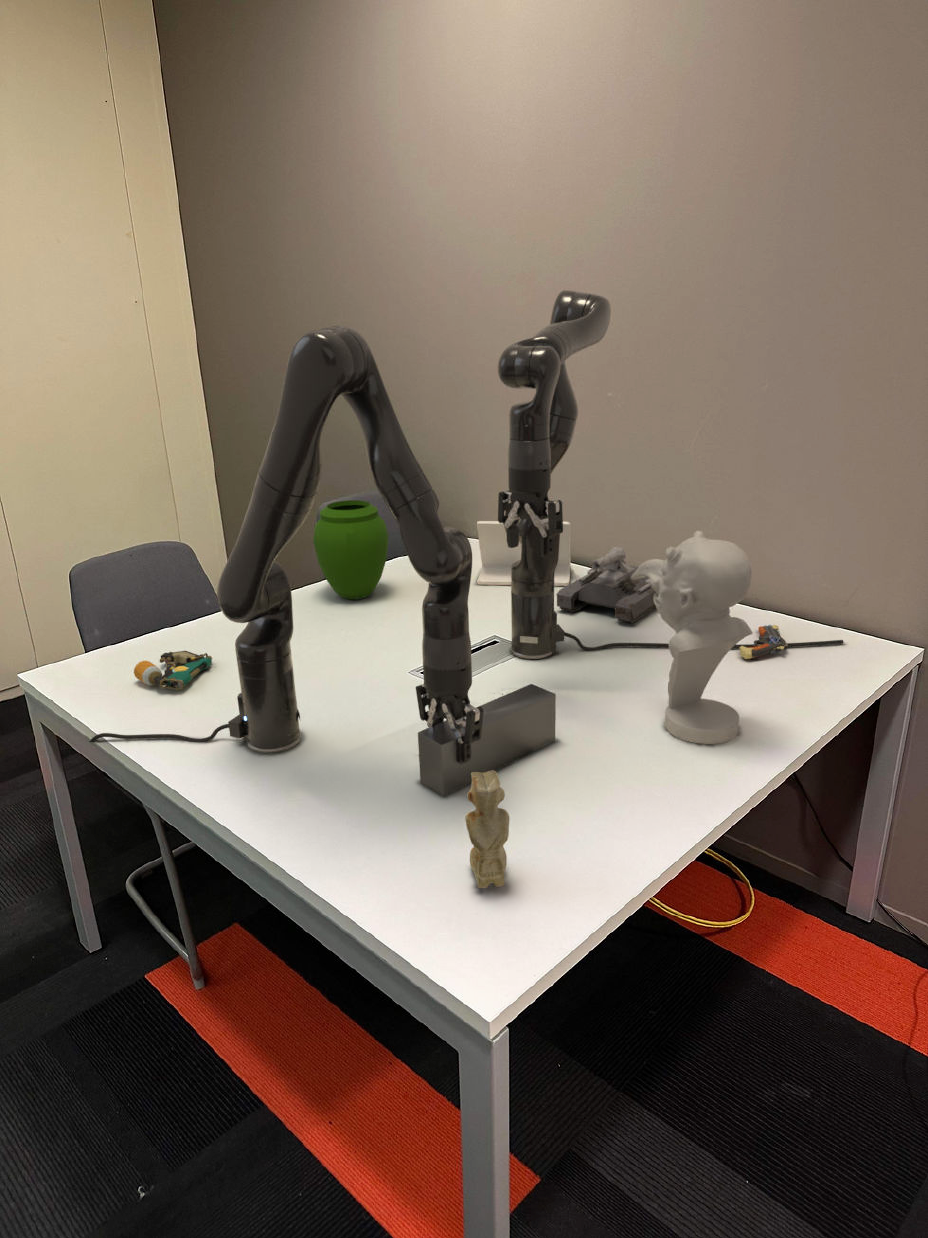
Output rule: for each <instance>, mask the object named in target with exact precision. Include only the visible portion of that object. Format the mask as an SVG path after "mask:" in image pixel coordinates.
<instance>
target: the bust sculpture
mask: <svg viewBox="0 0 928 1238" xmlns="http://www.w3.org/2000/svg"><path fill="white" fill-rule="evenodd" d="M664 554H665V559H660V558H653V559H648V560H645V561H644V562H642V563H641V564H640V565H639V566H638V567H639V568H638V569H637V570H636V571H635V573H634V574H633V575H632V576H631V578H632V579H634V580H635V579H640V578H644V577H647V578H649V579H650V583H651V587H652V589H653V590H654V591H655V592H656V593H655V594H654V597H653V600H654V604H655V605H656V607H655V608H656V611H657V612H658V614H659V615H660V618H661V619H662V620H663V622H665V623H666V624H667V625H668V626H669V627H670V628H671V629H672V630H673V631H675V634H673V635H672V636H671V638H669V641H668V644H669V647H668V649H669V653H670V654H671V657H672V658H673V660H672V663H671V666H670V669H669V673H668V682H667V694H668V696H667V697H668V700H667V705H668V706H666V708H665V718H664V726H665V728H666V730H667V731H668V732H669V733H670V734H671V735H673V736H675V737H676V738H679V739H680V740H683V741H687V742H691V743H696V744H703V745H713V744H721V743H726V742H729V741H731V740H733V739H734V738H736V736H738V733H739V729H740V728H739V727H740V715H739V714H740V713H738V711H737V710H736V709H735V708H734V707H732V706H730V705H728V704H727V703H724V702H721V701H719V700H714V699H709V698H702V696H703V695H704V694H703V693H704V692H705V690H706V687H707V685H708V684H709V681H710V680H711V678H712V676H713V674H714V673H715V671H716V670H717V668H718V667H719V665H720V664H721V662H722V661H723V660H724V658H725V656H726V655H727V654H728V653H729V652H730V651H731V650H732V649H733V648H732V647H733V646H735V645H738V643H739V642H741V641H742V640H743V639H745V638H747V637H749V636H751V635H753V634H754V632H753V630H752V629H751V628H750V626H749V624H748V623H747V622H746V621H745V620H744V619H743V618H740V617H737V616H731V614H730V613H731V610H730V608H732V607H734V606H736V605H737V604H739V603H740V602H741V601H742V600H744V599H745V597H746V595H747V594H748V592H749V590H750V586H751V583H752V574H753V573H752V572H753V571H752V565H751V561H750V559H749V557H748V555H747V554H746V552H745V551H744V550H743V549H742V548H741V547H740V546H739V545H737V544H736V543H734V542H731V541H728V540H723V539H711V538H707V536H706V534H705V532H703V530H696V531H694V533H693V536H691V537H689V538H687V539H684V541H682V542H681V543H679V544H678V545H677V546H675V547H674V546H669V547H667V548H666V551H665V553H664Z"/></svg>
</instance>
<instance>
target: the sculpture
mask: <svg viewBox="0 0 928 1238" xmlns="http://www.w3.org/2000/svg"><path fill="white" fill-rule="evenodd" d="M471 777H472V783H470V784H471V786H470V790H469V791H468V792H467V794H466V799H467V801H469V802H470V803H471V804H472V805H473V806H474V807H475V809H474V810H472V811H470V812H467V813H466V814H465V815H464V816H465V817H464V820H465V821H464V822H465V825H466V830H467V833H468V837H469V840H470V843H471V844H472V845H473V847H472V848H471V849H470V852H469V864H470V865H469V866H470V868H471V871H472V872H473V875H474V878H475V880H476V881H475V882H476V884H477V887H478V888H479V889H487V888H489V886H490V884H493V886H494V887H496V888H497V887H498V888H499V887H500V888H501V887H504V886H505V873H506V870H507V858H508V857H507V852H506V850H505V847H504V845H505V844H506V842H507V841H508V839H509V834H510V814H509V812H508V811H507V810H506V809H505V808H501V807H499V805H500V804H501V802H503V801H504V799H505V797H506V792H505V789H503V787H501V781H500V778H499V776H498V773H497V772H496V771H494V770H492V771H488V772H484V773H481V772H472V773H471Z"/></svg>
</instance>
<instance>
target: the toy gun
mask: <svg viewBox="0 0 928 1238" xmlns="http://www.w3.org/2000/svg"><path fill="white" fill-rule="evenodd" d="M779 630H780V627H779V626H778V625H777V624H768V625H766V624H765V625H763V626H762V625H761V626H759V627H758V633H759V636H758V639H756V640H754V641H753V644H754V645H753V647H744V646H741V647H740V648H739V653H740V655H741V657H742V658H743V659H745V660H750V659H753V658H756V657H760V656H764V655H766V654H771V653H773V652H775V651H778V650H781V651H783V650H784V649H785V647H784V646H788V645H787V644H786V643H787V641H786V639H784V638H783V637H782V636H781V635H780V632H779ZM757 644H763V645H757Z"/></svg>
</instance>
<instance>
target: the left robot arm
mask: <svg viewBox="0 0 928 1238" xmlns="http://www.w3.org/2000/svg"><path fill="white" fill-rule="evenodd" d="M340 396H341V397H342V398H343V399H344V401H345V402H346V404H347V405H348V406H349V407H350V408H351V411H352V412H353V414H354V416H355V418H356V420H357V423H358V425H359V428H360V431H361V434H362V438H363V442H364V446H365V452H366V457H367V463H368V467H369V471H370V474H371V477H372V479H373V482H374V484H375V486H376V488H377V490H378V492H379V494H380V496H381V497H382V499H383V501H384V503H385V505H386V506H387V508H388V510H389V511H390V513H391V515H392V517H393V518H394V520H395V522H396V524H397V527H398V530H399V534H400V538H401V540H402V543H403V546H404V550H405V551H406V554H407V557H408V560H409V562H410V564H411V566H412V568H413V569H414V570H415V572H416V573H417V574H418V576H419V577H420V578H421V579H422V580H423V581H425V582H426V583H428V587H427V592H426V594H425V596H424V598H423V601H422V606H421V617H422V642H421V643H422V644H421V651H422V653H421V654H422V672H423V673H422V674H423V683H422V684H419V685H417V686H415V694H416V700H417V706H418V714H419V719H420V721H423V722H424V721H425V722H426V725H427V728H429V727H432V726H434V725H436V724H439V723H441V722H443V721H446V720H447V721H448V723H449V726H450V729H451V730H453V731H454V733H455V736H456V739H457V762H458V763H460V764H463V763H465V762H467V761H469V760H470V759H471V743H473V742H475V741H478V740H480V739H481V733H482V723H483V712H484V711H483V708H482V707H478V706H476V707H477V708H476V707H475V706H474V705H472V704H471V701H470V698H469V690H470V689H471V687H472V685H473V669H472V668H473V667H472V666H473V665H472V664H473V663H472V661H473V660H472V641H471V635H470V622H469V621H470V618H469V595H470V594H469V593H470V590H471V589H470V587H471V581H472V572H473V571H472V570H473V548H472V545H471V543H470V540H469V538H468V537H467V535H466V534H465V533H464V531H461V530H460V529H458V528H455V527H451V526H446V527H445V526H444V527H443V524H442V522H441V520H440V517H439V515H438V512H439V509H440V501H439V498H438V495H437V493H436V491H435V490H434V488H433V486H432V485H431V483H430V481H429V479H428V477H427V475H426V473H425V472H424V470H423V468H422V467H421V464H420V463H419V461H418V460H417V458H416V455H415V453H414V452H413V450H412V448H411V446H410V444H409V442H408V440H407V438H406V436H405V433H404V431H403V429H402V427H401V423H400V421H399V419H398V417H397V414H396V412H395V409H394V406H393V404H392V402H391V399H390V396H389V394H388V392H387V389H386V386H385V384H384V381H383V378H382V375H381V373H380V370H379V367H378V364H377V361H376V360H375V357H374V355H373V352H372V350H371V348H370V346H369V344H368V341H367V340H366V339H365V338H364V336H363V335H362V334H361V333H360V332H359V331H358V330H357V329H355V328H352V327H351V326H348V325H332V326H328V327H322V328H319V329H314V330H310V331H307V332H306V333H304V334H302V335H301V336H300V337H299V338H298V339H297V340H296V341H295V342H294V344H293V346H292V348H291V350H290V352H289V356H288V359H287V364H286V369H285V374H284V379H283V384H282V389H281V395H280V399H279V405H278V410H277V414H276V417H275V421H274V423H273V426H272V429H271V433H270V437H269V438H268V442H267V447H266V450H265V453H264V456H263V459H262V461H261V464H260V467H259V469H258V473H257V476H256V479H255V483H254V485H253V490H252V493H251V497H250V499H249V500H250V501H249V504H248V506H247V510H246V512H245V516H244V518H243V520H242V524H241V528H240V530H239V533H238V536H237V538H236V541H235V544H234V546H233V548H232V550H231V553H230V555H229V557H228V559H227V561H226V563H225V565H224V567H223V570H222V572H221V574H220V577H219V580H218V584H217V589H216V590H217V591H216V594H217V603H218V606H219V608H220V611H221V613H222V614H223V616H224V617H225V618H227V619H228V620H229V621H231V622H234V623H236V624H246V623H247V624H246V625H245V628H244V629H243V630H242V631H241V633H240V634H239V635H238V636H237V637H236V639H235V643H234V648H235V657H236V663H237V671H238V678H239V686H240V692H239V693H238V694H237V697H236V698H237V699H236V700H237V705H238V715H236V716H234V717H233V718H232V719H230V720H229V721H228V722H227V723H225V724H222V725H220V726H218V727H216V728H214V730H213V732H212V733H211V734H210V735H209V736H207V737H201V738H194V737H189V736H185V735H181V734H175V733H174V734H173V733H150V734H147V733H146V734H145V733H144V734H119V733H111V732H101V733H98V734H95V735H94V736H93V737H92V738H91V739H90V740H89V741H88V742H89V743H94V742H96V741H97V740H99V739H101V738H114V739H121V740H138V739H139V740H140V739H142V740H143V739H176V740H182V741H186V742H189V743H191V742H192V743H207V742H209V741H212V740H213V739H215V737H216V736H217V734H218V733H219V732H221V731H222V730H225V729H228V731H229V736H230V737H231V738H236V739H240V740H241V739H242V743H243V744H244V745H247V747H248V748H249V749H250V750H251V751H254V752H256V753H263V754H272V753H273V754H275V753H280V752H284V751H287V750H290V749H291V748H294V747H295V746H297V744H298V743H300V741H301V738H302V733H301V730H300V722H301V714H300V711H299V709H298V702H297V693H296V692H297V691H296V684H295V683H296V682H295V674H294V666H293V656H292V645H291V642H292V639H293V634H294V616H293V615H294V613H293V597H292V587H291V582H290V579H289V577H288V574H287V572H286V570H285V569H284V568H283V566H282V565H281V564H280V563H279V562H278V561H276V559H277V557H278V556H279V555H280V553H281V552H282V551H283V550H284V548H285V547H286V546H287V545H288V544H289V542H290V541H291V540H292V539H293V538H294V536H295V535H296V534H297V533H298V531H299V530H300V529H301V527H303V525H304V523H306V520H308V517H309V515H310V513H311V512H312V508H313V506H314V503H315V500H316V497H317V494H318V492H319V489H320V486H321V482H322V478H323V461H322V453H321V438H322V434H323V430H324V427H325V425H326V422H327V420H328V417H329V414H330V412H331V410H332V408H333V406H334V403H335V402H336V401H337V399H338V398H339V397H340ZM426 707H428V710H427V711H426ZM462 717H463V721H462V722H459V723H456V720H459V719H461V718H462ZM299 721H300V722H299ZM462 727H464V730H465V734H463V735H462V732H461V728H462ZM473 732H474V733H473Z"/></svg>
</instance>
